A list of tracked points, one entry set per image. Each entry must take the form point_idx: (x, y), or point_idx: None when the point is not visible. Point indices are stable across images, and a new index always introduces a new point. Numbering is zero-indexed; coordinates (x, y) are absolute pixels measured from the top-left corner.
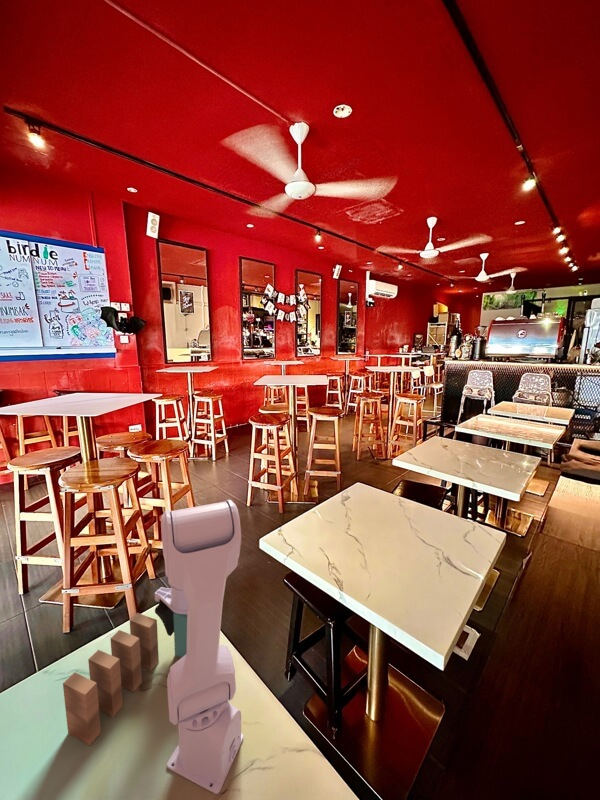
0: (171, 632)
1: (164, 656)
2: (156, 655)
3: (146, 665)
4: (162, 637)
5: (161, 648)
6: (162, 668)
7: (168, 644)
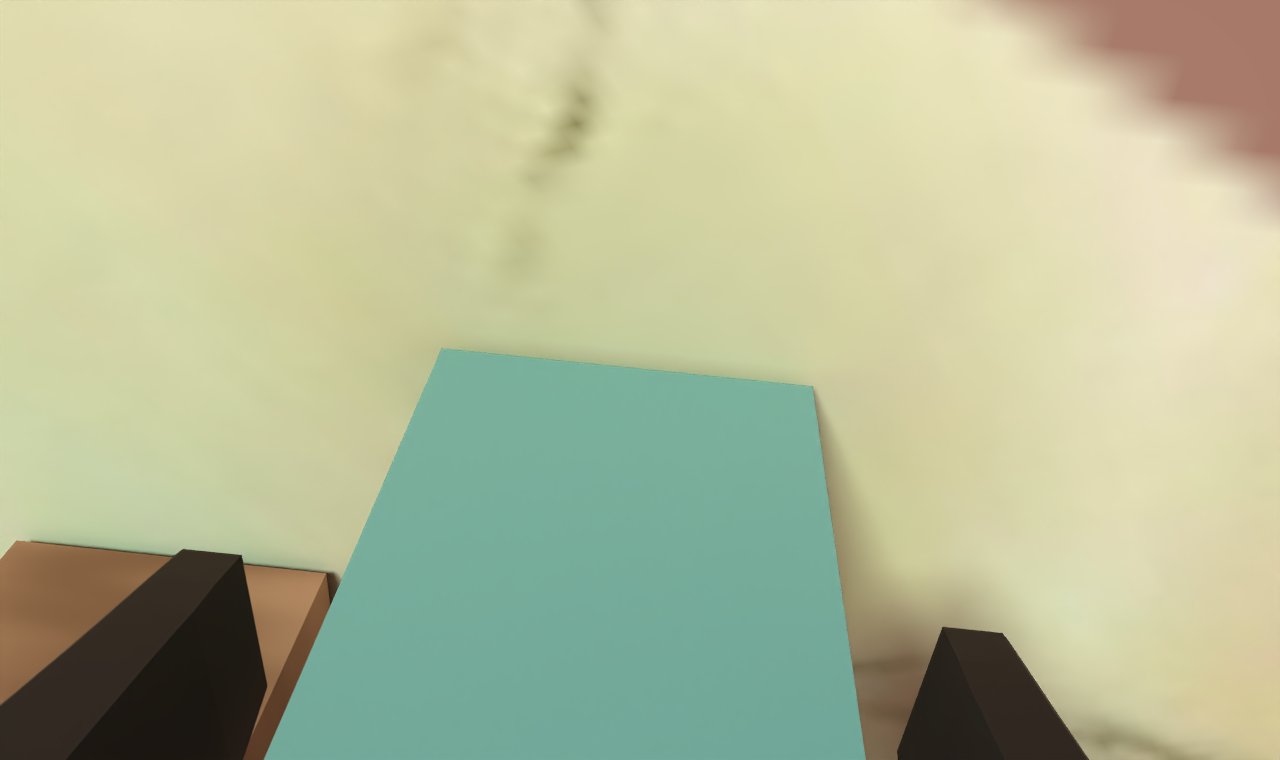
0: (243, 709)
1: (325, 489)
2: (283, 708)
3: None
4: (27, 257)
5: (186, 408)
6: None
7: (222, 336)
